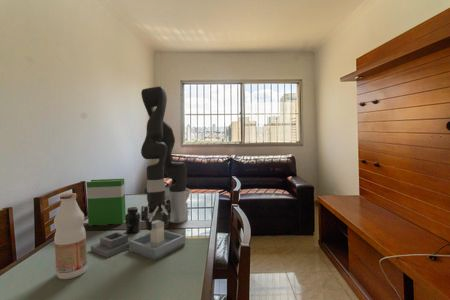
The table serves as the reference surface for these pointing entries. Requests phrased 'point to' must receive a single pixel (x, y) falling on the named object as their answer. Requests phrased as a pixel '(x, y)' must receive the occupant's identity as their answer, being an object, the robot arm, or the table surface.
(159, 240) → the block
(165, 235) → the parts tray
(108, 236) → the grey stepped block piece
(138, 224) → the supplement bottle
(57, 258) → the fruit juice
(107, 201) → the green cereal box
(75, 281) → the table surface
